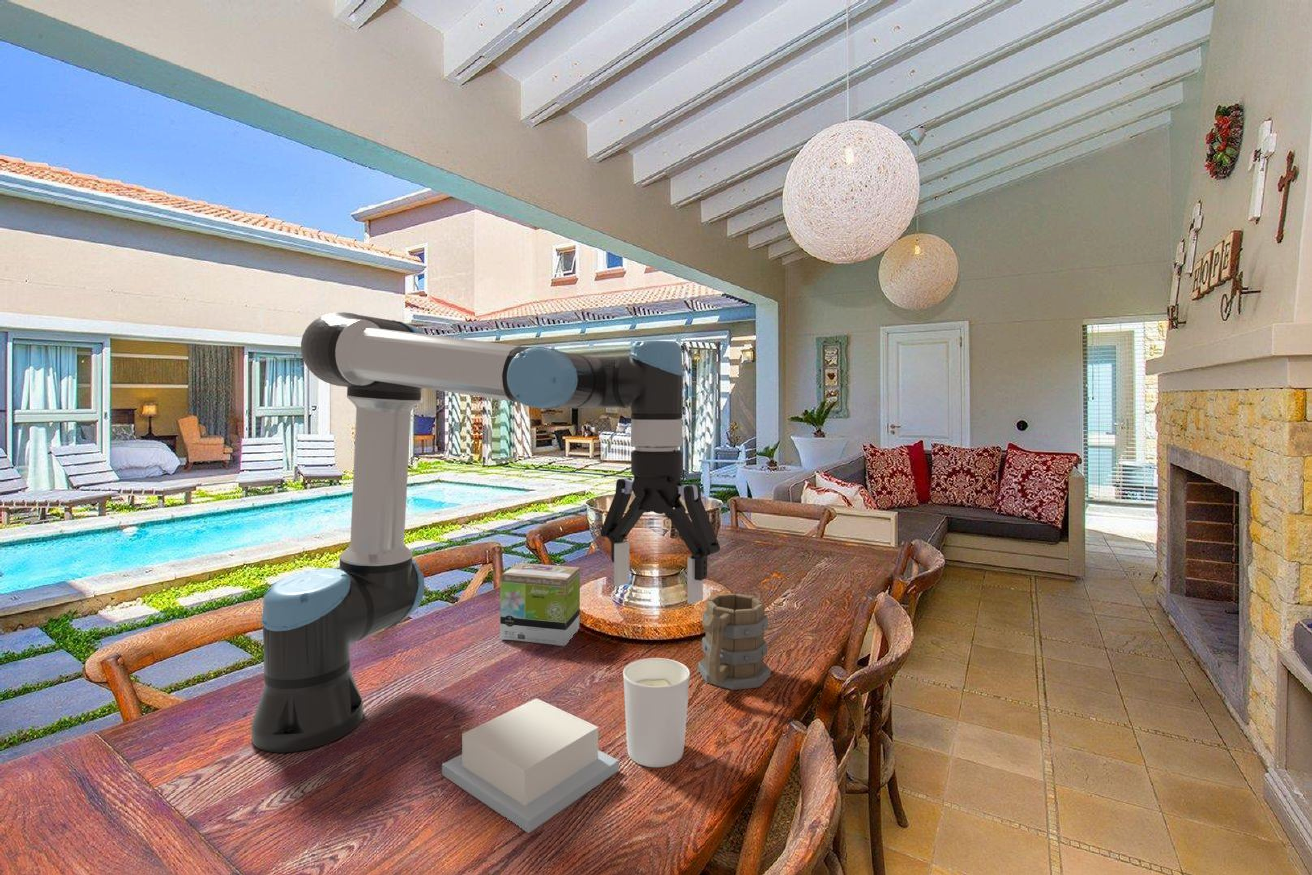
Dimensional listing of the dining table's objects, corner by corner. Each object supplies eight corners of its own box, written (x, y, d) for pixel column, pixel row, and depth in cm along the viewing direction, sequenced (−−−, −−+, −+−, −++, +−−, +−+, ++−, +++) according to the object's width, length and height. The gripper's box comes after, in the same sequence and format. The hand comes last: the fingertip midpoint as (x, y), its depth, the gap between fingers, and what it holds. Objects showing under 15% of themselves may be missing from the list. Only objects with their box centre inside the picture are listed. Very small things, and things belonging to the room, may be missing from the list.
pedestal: (442, 774, 83) (441, 731, 83) (533, 726, 96) (533, 689, 95) (528, 833, 72) (528, 784, 72) (618, 770, 85) (619, 728, 84)
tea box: (498, 641, 130) (498, 573, 129) (517, 624, 140) (517, 561, 139) (566, 647, 127) (566, 577, 126) (580, 630, 137) (581, 565, 136)
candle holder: (651, 726, 96) (652, 652, 96) (702, 749, 90) (703, 670, 90) (608, 753, 89) (608, 673, 88) (660, 780, 83) (661, 694, 82)
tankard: (717, 655, 124) (719, 582, 123) (777, 669, 118) (779, 593, 117) (669, 694, 107) (670, 610, 106) (735, 714, 101) (737, 625, 100)
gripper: (745, 451, 84) (743, 602, 85) (610, 444, 99) (611, 572, 100) (715, 454, 78) (714, 617, 79) (577, 446, 93) (578, 583, 94)
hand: (656, 592), depth 90 cm, fingers open, 13 cm apart
